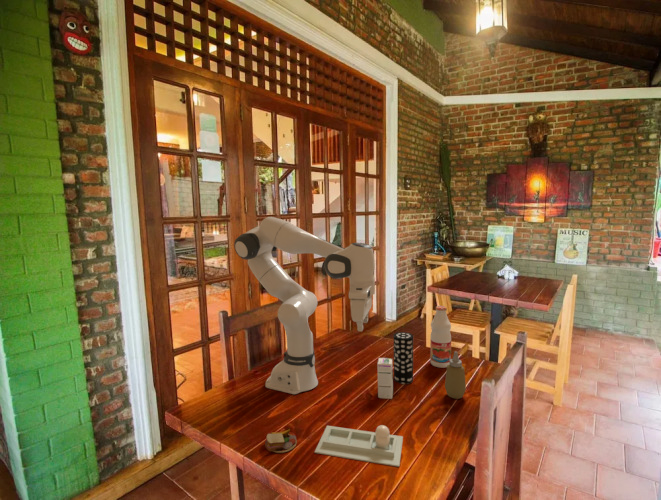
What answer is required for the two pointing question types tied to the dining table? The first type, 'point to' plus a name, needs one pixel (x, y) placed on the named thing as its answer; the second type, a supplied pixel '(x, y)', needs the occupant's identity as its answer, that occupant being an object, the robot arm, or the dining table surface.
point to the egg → (382, 437)
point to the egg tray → (359, 446)
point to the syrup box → (385, 378)
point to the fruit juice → (440, 339)
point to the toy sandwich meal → (280, 441)
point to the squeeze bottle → (455, 378)
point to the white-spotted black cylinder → (403, 358)
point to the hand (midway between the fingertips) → (362, 326)
